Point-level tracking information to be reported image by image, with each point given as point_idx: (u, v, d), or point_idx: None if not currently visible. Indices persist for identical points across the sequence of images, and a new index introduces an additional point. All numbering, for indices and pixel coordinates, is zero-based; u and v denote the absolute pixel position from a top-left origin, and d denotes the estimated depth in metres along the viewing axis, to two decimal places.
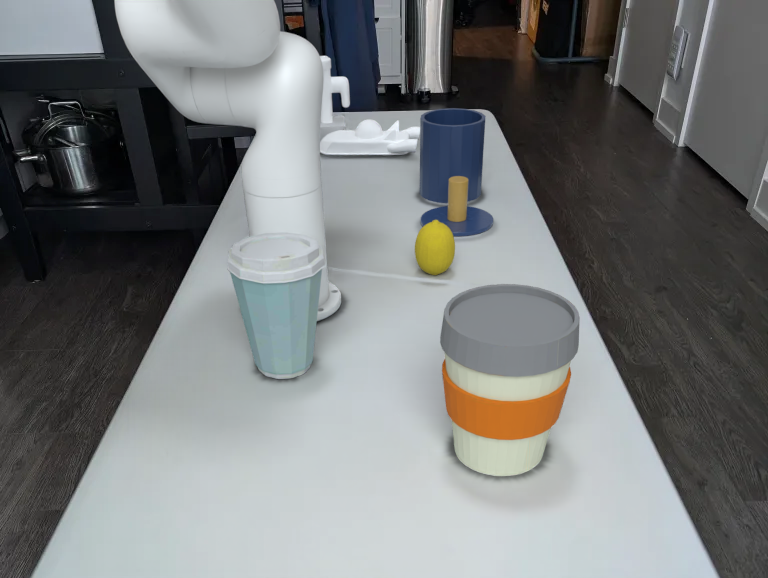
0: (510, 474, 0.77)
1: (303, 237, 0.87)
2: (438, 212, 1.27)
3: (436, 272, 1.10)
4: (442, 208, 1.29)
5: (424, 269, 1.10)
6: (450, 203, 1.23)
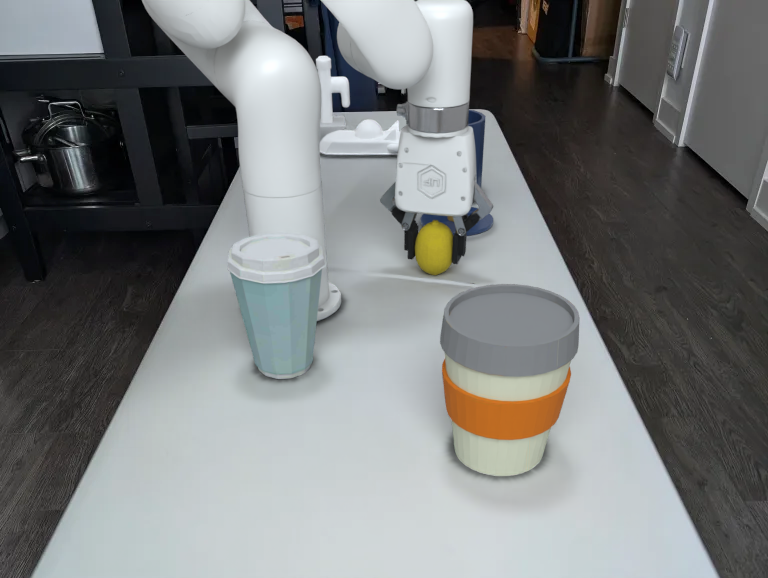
0: (510, 474, 0.77)
1: (302, 237, 0.87)
2: None
3: (436, 272, 1.10)
4: None
5: (424, 269, 1.10)
6: None
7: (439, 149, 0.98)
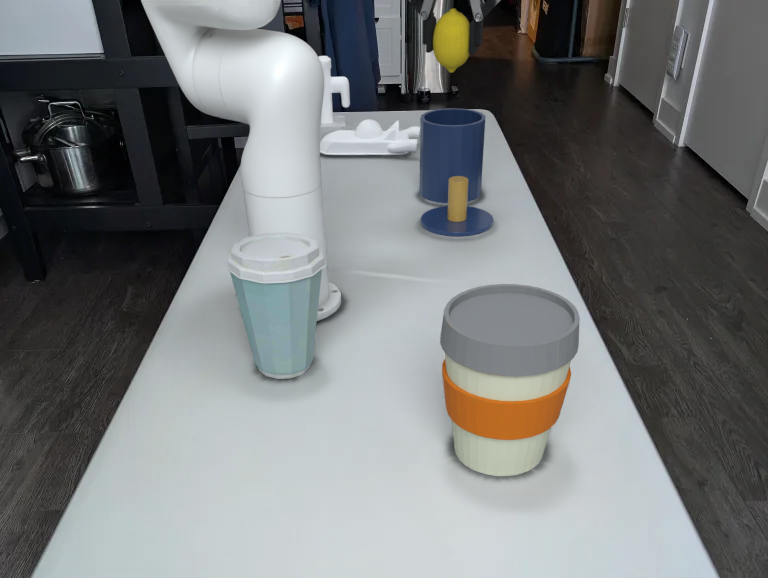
0: (510, 474, 0.77)
1: (302, 237, 0.87)
2: (438, 212, 1.27)
3: (453, 64, 1.13)
4: (442, 208, 1.29)
5: (442, 61, 1.13)
6: (450, 203, 1.23)
7: None
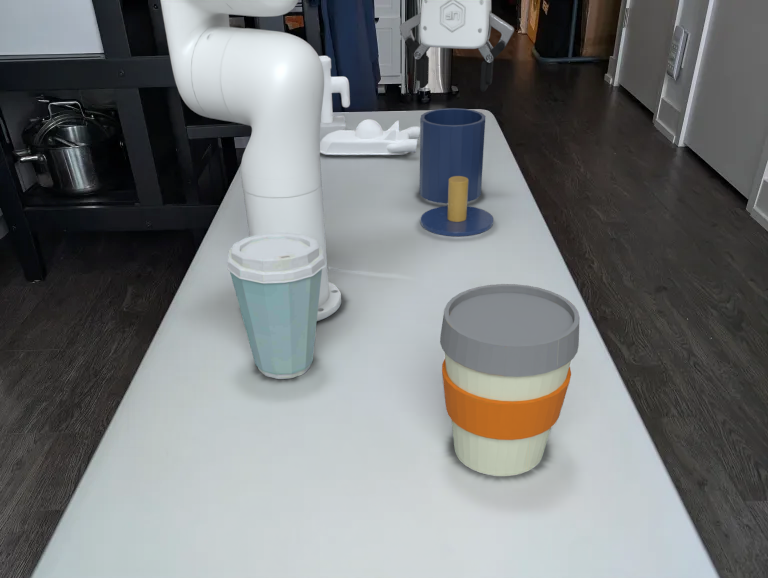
0: (510, 474, 0.77)
1: (303, 237, 0.87)
2: (438, 212, 1.27)
3: None
4: (442, 208, 1.29)
5: None
6: (450, 203, 1.23)
7: None
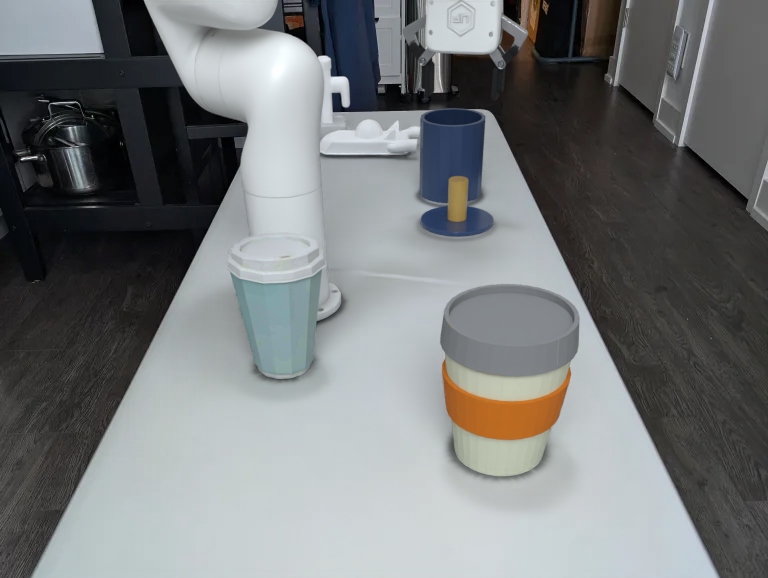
0: (510, 474, 0.77)
1: (303, 237, 0.87)
2: (438, 212, 1.27)
3: None
4: (442, 208, 1.29)
5: None
6: (450, 203, 1.23)
7: None
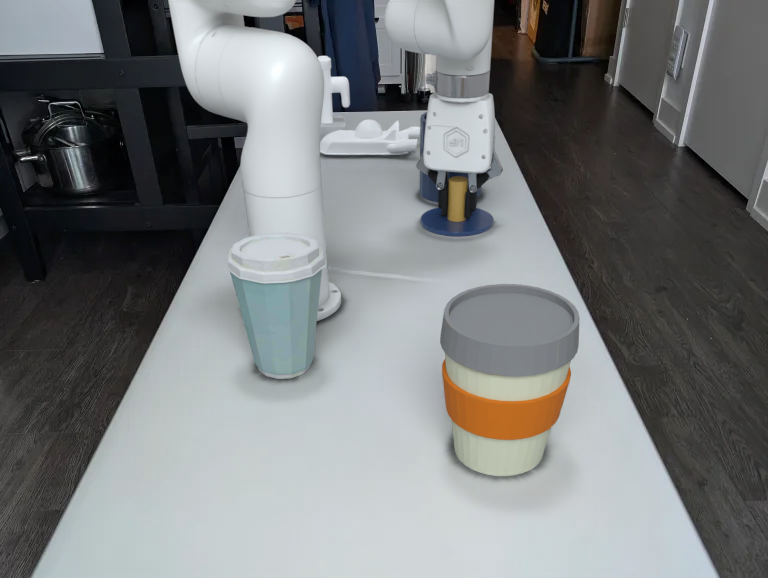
0: (510, 474, 0.77)
1: (303, 237, 0.87)
2: (438, 212, 1.27)
3: None
4: None
5: None
6: (450, 203, 1.23)
7: (463, 113, 1.13)
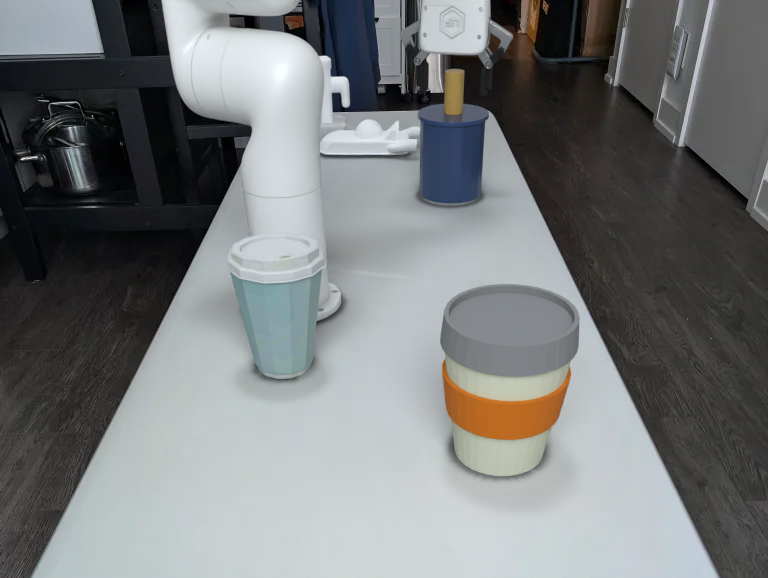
0: (510, 474, 0.77)
1: (303, 237, 0.87)
2: (435, 108, 1.30)
3: None
4: (439, 105, 1.31)
5: None
6: (446, 96, 1.25)
7: None
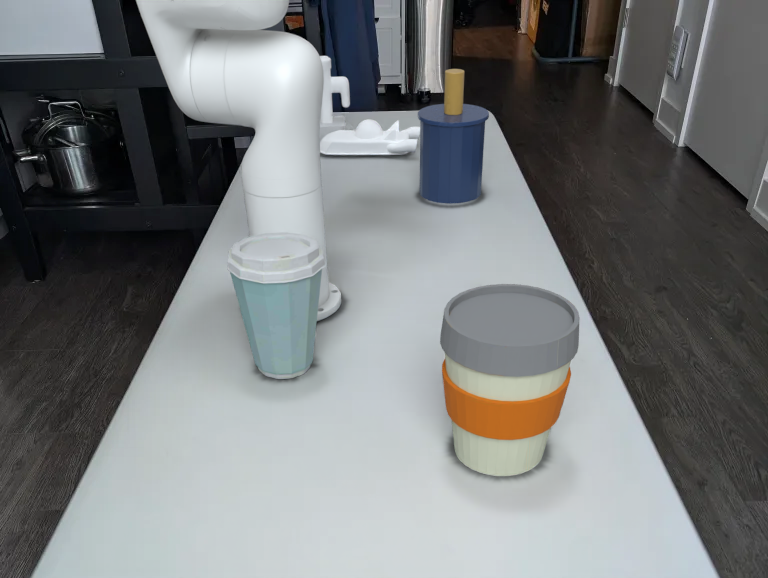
0: (510, 474, 0.77)
1: (302, 237, 0.87)
2: (435, 108, 1.30)
3: None
4: (439, 105, 1.31)
5: None
6: (446, 96, 1.25)
7: None
